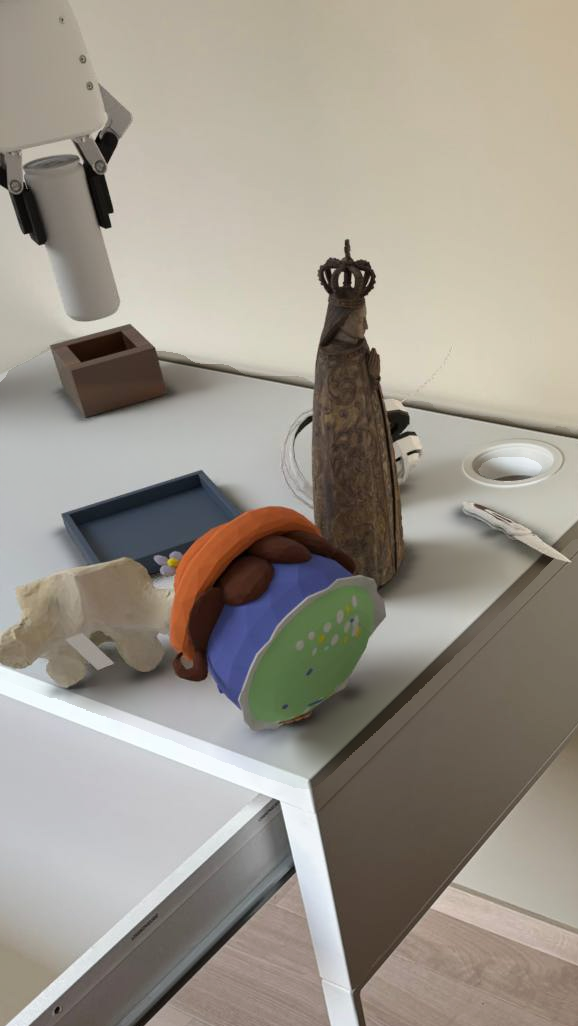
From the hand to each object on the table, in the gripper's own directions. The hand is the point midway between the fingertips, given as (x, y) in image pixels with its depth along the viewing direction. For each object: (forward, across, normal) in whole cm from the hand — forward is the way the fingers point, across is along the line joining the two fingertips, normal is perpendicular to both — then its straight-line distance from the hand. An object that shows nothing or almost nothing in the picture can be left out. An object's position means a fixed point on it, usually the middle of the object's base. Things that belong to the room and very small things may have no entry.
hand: (70, 230), depth 100 cm
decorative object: (+14, +14, +26) cm, 33 cm away
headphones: (+22, -18, +17) cm, 33 cm away
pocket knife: (+21, -20, +33) cm, 44 cm away
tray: (+22, +3, +13) cm, 26 cm away
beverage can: (+7, 0, 0) cm, 7 cm away
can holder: (+21, -4, -20) cm, 30 cm away
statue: (+22, -9, +31) cm, 39 cm away
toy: (+17, +1, +48) cm, 51 cm away
